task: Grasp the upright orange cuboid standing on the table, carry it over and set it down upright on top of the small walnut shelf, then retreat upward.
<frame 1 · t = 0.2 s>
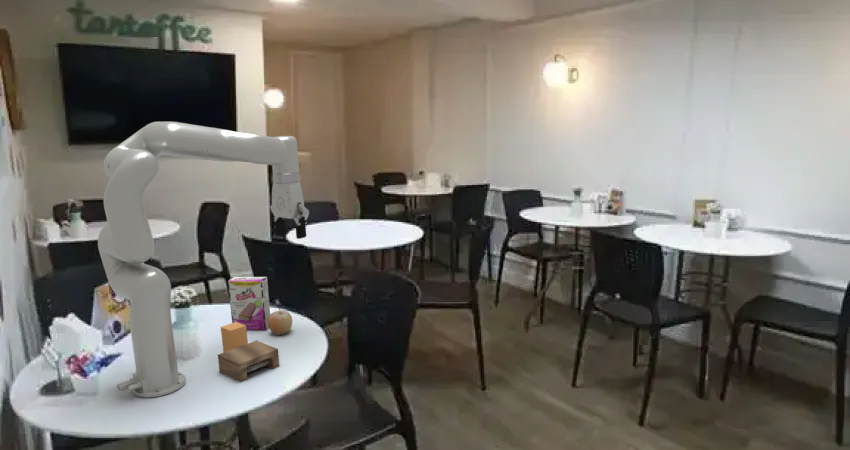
hand: (291, 235, 182), 31 cm above the table, fingers open, 9 cm apart
shelf: (249, 369, 164), on the table
fruit: (281, 333, 189), on the table
upright orange cuboid: (236, 352, 175), on the table
candy bar box: (252, 328, 194), on the table
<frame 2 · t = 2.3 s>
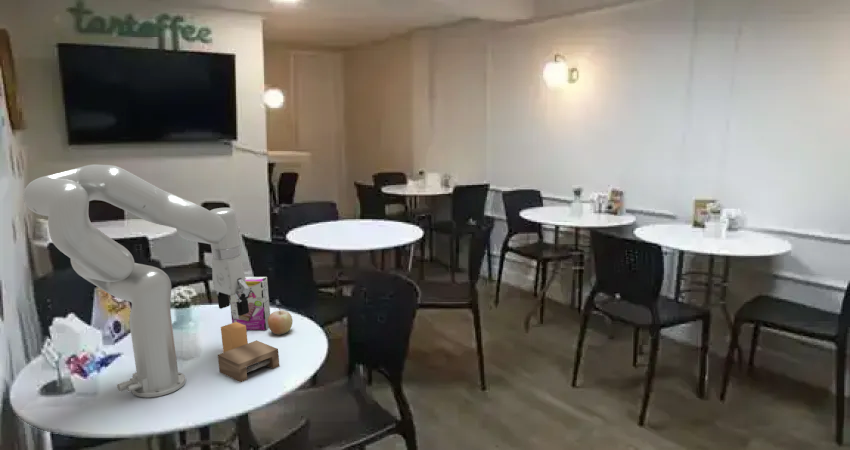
hand: (233, 310, 173), 12 cm above the table, fingers open, 9 cm apart
nothing on the table moved.
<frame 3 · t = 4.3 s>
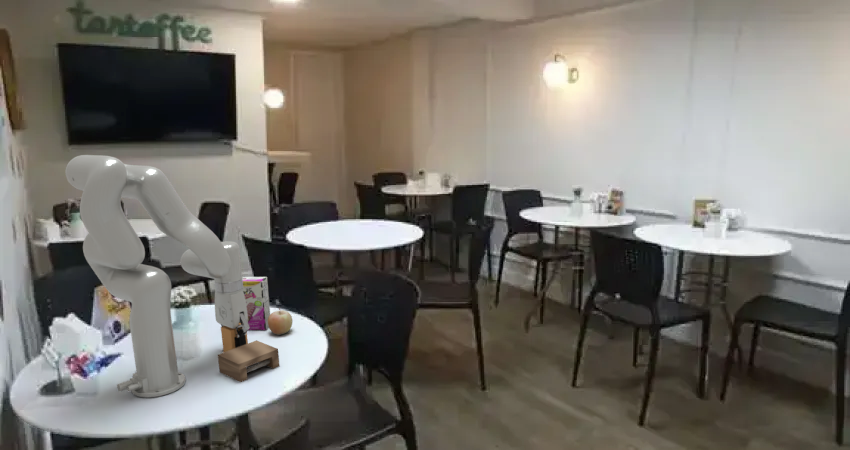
hand: (235, 346, 175), 2 cm above the table, fingers closed on upright orange cuboid, 5 cm apart
upright orange cuboid: (236, 352, 175), on the table, touching gripper
everything else where it was.
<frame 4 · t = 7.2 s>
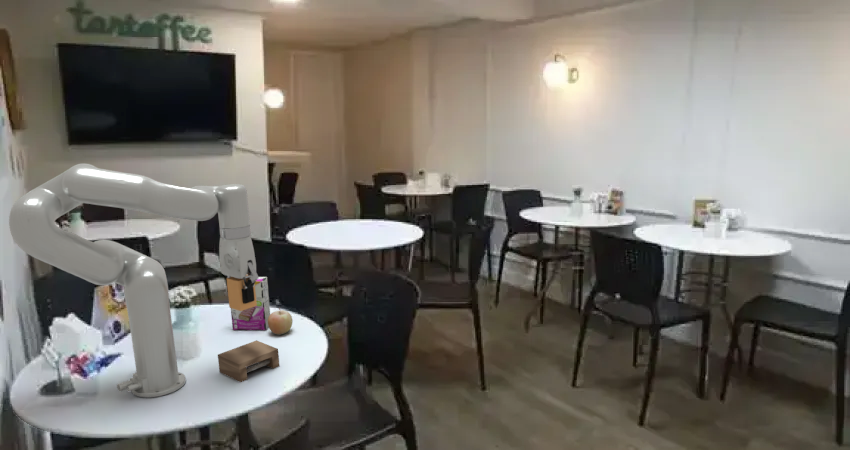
hand: (242, 299, 161), 19 cm above the table, fingers closed on upright orange cuboid, 5 cm apart
upright orange cuboid: (243, 306, 161), point 17 cm above the table, touching gripper
everything else where it was.
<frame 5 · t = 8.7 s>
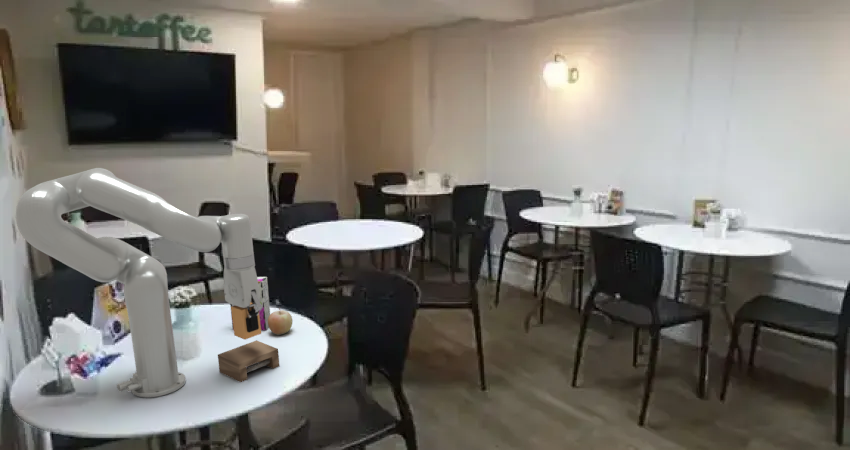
hand: (246, 327, 162), 12 cm above the table, fingers closed on upright orange cuboid, 5 cm apart
upright orange cuboid: (247, 334, 162), point 10 cm above the table, touching gripper
everything else where it was.
when the fingers open (8 cm above the table, at t = 10.2 s): upright orange cuboid drops 1 cm, resting on shelf.
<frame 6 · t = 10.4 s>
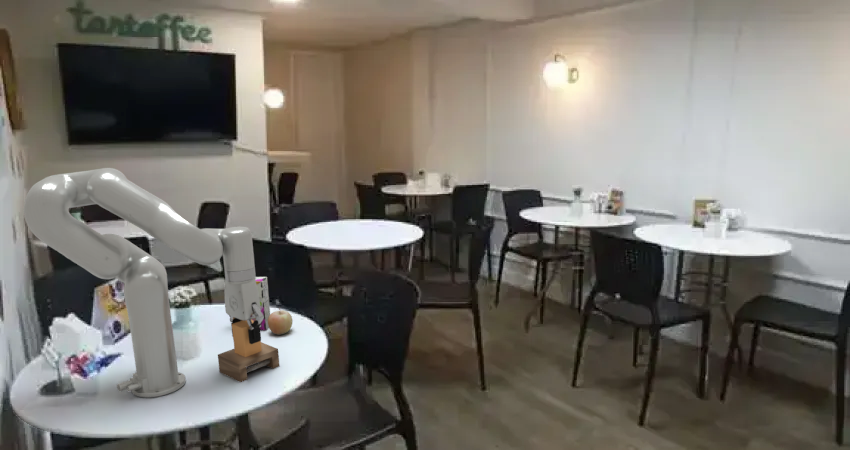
hand: (246, 338, 162), 9 cm above the table, fingers open, 7 cm apart
upright orange cuboid: (248, 351, 163), point 5 cm above the table, touching shelf
everything else where it was.
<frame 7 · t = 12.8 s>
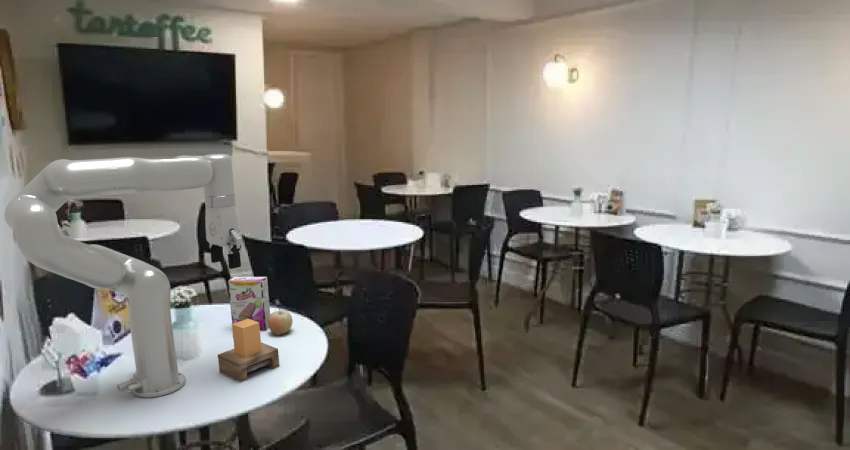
hand: (226, 264, 164), 28 cm above the table, fingers open, 9 cm apart
nothing on the table moved.
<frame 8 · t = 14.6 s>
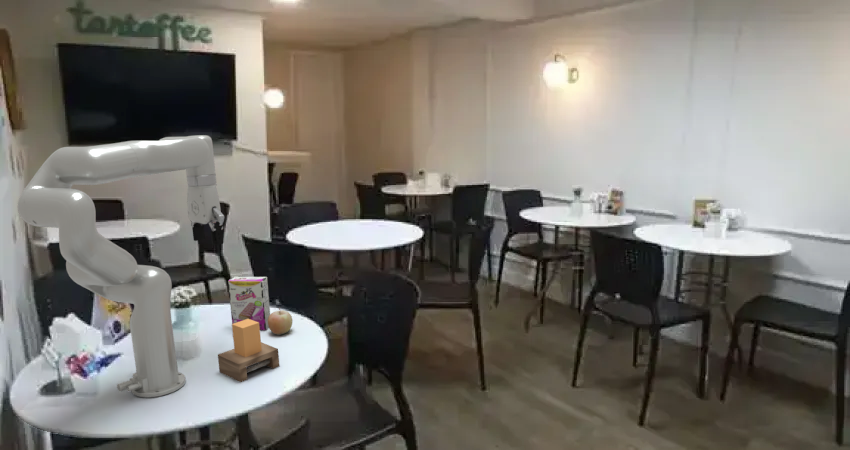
hand: (208, 242, 170), 32 cm above the table, fingers open, 9 cm apart
nothing on the table moved.
at the end: upright orange cuboid inside the target area on the shelf (0.0 cm from its centre), point 5.0 cm above the shelf's base; upright orange cuboid tilted 0°; upright orange cuboid touching shelf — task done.
